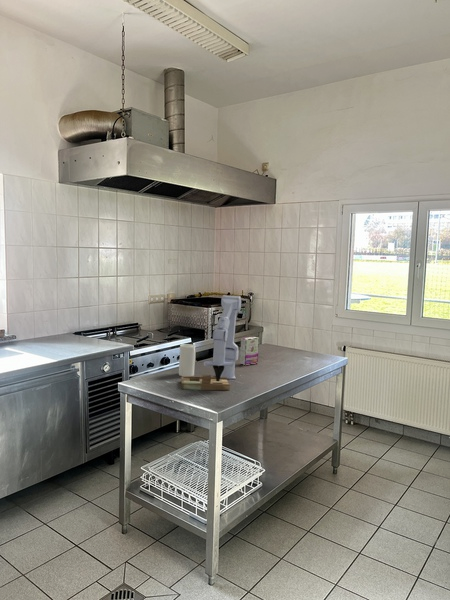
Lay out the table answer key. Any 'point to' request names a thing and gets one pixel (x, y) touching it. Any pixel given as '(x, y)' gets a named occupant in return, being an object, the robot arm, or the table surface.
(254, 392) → the table surface
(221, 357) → the robot arm
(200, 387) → the trap tray
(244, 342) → the candy bar box
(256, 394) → the table surface
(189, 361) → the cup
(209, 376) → the walnut cube
